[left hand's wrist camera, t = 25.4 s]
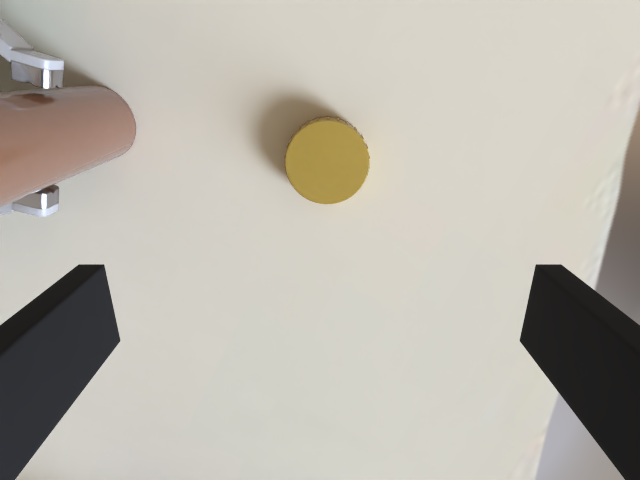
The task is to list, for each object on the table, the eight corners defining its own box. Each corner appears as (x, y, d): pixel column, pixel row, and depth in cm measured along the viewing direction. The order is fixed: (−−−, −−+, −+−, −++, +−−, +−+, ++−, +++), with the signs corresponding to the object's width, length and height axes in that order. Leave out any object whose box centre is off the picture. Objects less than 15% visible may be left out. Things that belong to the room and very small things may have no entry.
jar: (60, 79, 28) (-268, 94, 13) (135, 90, 29) (-96, 119, 13) (67, 152, 30) (-209, 244, 15) (137, 163, 31) (-61, 264, 15)
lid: (370, 192, 31) (373, 200, 29) (292, 200, 32) (290, 209, 30) (364, 111, 29) (367, 114, 27) (280, 121, 29) (277, 125, 27)
